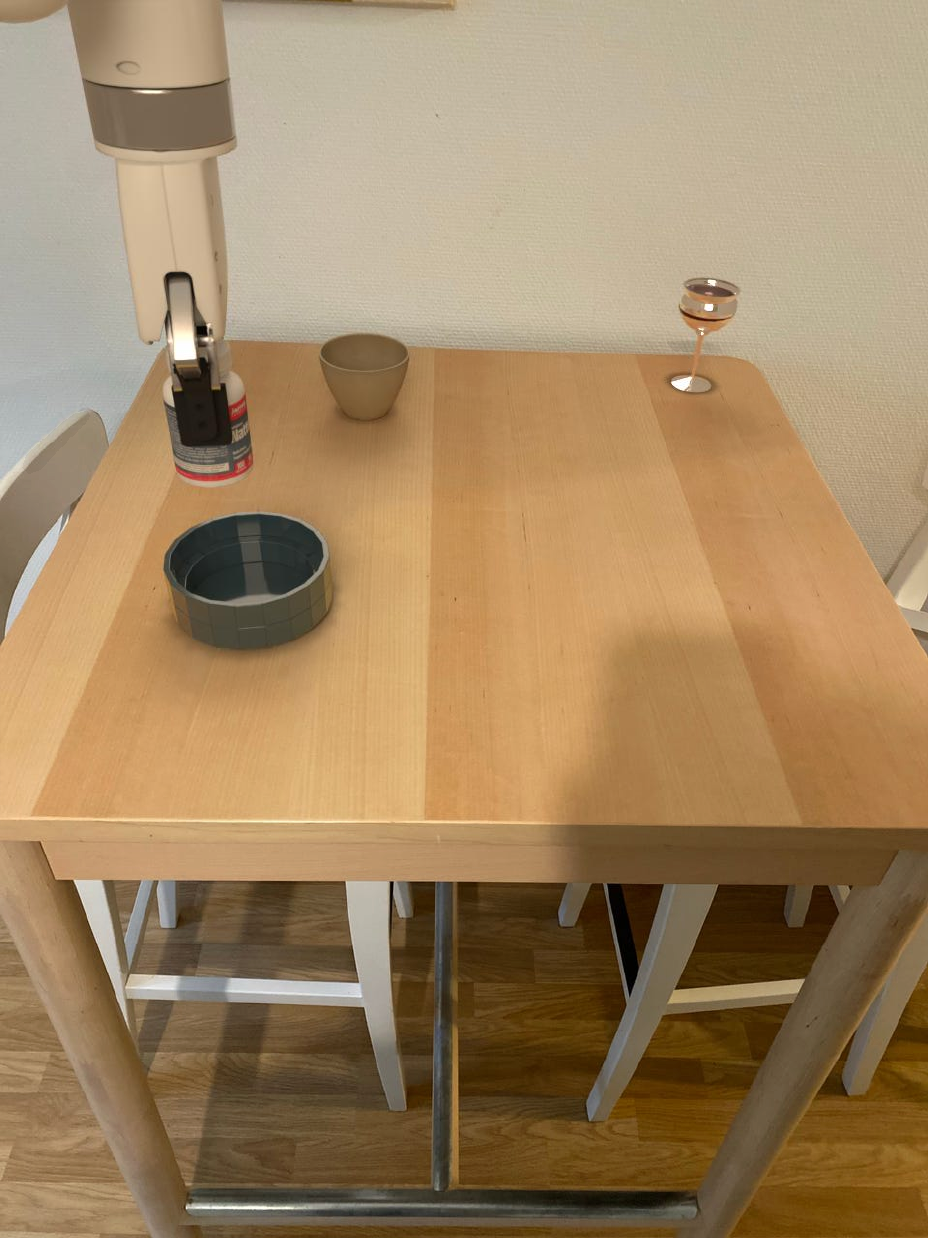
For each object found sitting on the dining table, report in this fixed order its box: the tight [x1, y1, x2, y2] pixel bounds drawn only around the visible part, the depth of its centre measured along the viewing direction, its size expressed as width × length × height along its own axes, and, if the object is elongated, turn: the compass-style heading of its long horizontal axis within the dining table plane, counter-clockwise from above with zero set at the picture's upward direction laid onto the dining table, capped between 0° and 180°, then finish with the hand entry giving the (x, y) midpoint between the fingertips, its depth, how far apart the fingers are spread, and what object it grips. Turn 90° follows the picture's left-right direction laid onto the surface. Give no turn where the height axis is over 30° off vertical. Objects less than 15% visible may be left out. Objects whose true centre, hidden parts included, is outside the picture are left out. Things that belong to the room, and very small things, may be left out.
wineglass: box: [670, 276, 742, 393], centre depth 109 cm, size 7×7×12 cm
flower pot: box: [317, 332, 411, 421], centre depth 102 cm, size 10×10×7 cm
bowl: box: [162, 510, 333, 651], centre depth 75 cm, size 13×13×5 cm
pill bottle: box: [162, 338, 254, 489], centre depth 60 cm, size 5×5×9 cm
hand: (208, 418), depth 60 cm, fingers closed on pill bottle, 5 cm apart
